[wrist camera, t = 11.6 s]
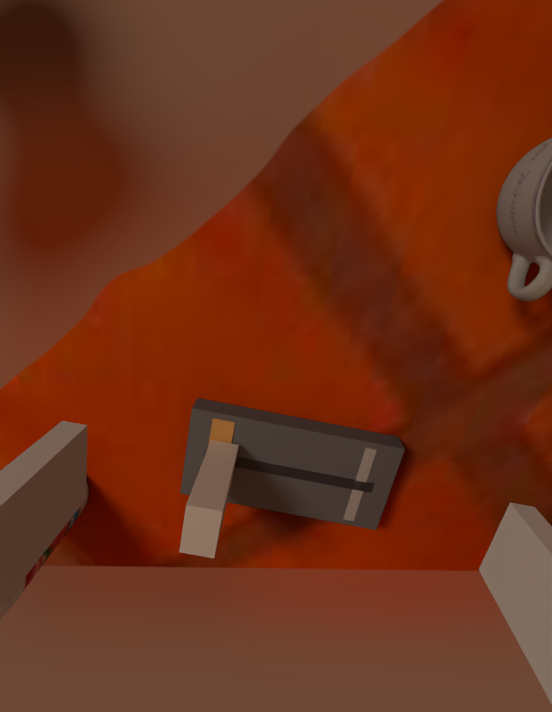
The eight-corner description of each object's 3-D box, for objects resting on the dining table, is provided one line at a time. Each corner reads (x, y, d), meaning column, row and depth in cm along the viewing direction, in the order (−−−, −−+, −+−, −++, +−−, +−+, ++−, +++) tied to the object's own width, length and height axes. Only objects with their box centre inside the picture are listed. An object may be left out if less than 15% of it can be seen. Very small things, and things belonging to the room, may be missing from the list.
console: (398, 437, 42) (405, 449, 40) (371, 514, 45) (376, 530, 43) (197, 398, 41) (191, 408, 39) (186, 479, 45) (180, 494, 42)
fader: (238, 445, 40) (222, 511, 30) (231, 483, 41) (213, 558, 32) (211, 439, 40) (186, 504, 30) (204, 478, 41) (179, 552, 32)
